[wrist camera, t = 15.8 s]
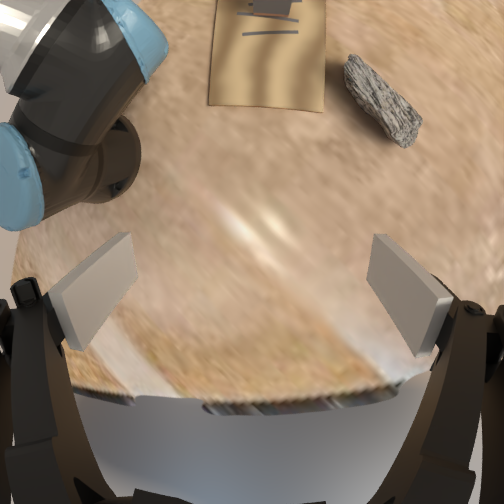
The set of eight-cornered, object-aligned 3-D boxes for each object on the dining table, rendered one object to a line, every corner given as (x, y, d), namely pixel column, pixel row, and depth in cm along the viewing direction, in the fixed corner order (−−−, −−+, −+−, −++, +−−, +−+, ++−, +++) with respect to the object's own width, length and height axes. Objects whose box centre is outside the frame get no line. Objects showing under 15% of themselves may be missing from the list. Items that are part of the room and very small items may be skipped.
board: (209, 105, 36) (208, 104, 35) (223, -30, 26) (222, -33, 25) (321, 113, 36) (323, 112, 35) (323, -24, 26) (324, -26, 25)
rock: (318, 66, 33) (343, 59, 24) (361, 44, 30) (393, 35, 22) (370, 151, 40) (402, 168, 31) (407, 127, 37) (444, 140, 29)
